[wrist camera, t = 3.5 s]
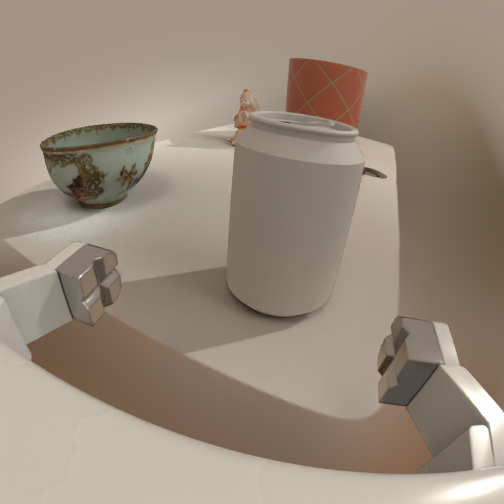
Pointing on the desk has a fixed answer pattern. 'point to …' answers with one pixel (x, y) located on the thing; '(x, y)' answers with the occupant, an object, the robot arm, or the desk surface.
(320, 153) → the can
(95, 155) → the bowl
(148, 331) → the desk surface
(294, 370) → the desk surface
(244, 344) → the desk surface
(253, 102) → the figurine
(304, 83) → the planter
